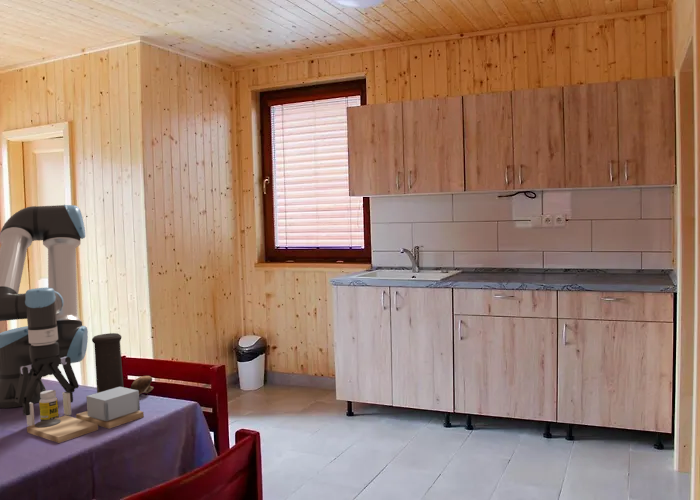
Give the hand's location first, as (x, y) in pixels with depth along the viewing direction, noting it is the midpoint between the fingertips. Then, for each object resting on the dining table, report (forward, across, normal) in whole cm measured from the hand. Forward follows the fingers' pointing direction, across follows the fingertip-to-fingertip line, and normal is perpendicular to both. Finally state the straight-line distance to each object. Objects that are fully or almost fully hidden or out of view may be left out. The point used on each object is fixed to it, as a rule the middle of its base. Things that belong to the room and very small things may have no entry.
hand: (49, 419), depth 179 cm
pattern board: (0, +10, -14) cm, 17 cm away
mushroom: (+1, +30, -1) cm, 30 cm away
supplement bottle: (0, 0, 0) cm, 0 cm away
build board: (0, -3, -12) cm, 12 cm away
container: (0, +24, +7) cm, 25 cm away
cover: (-2, +10, -16) cm, 19 cm away
